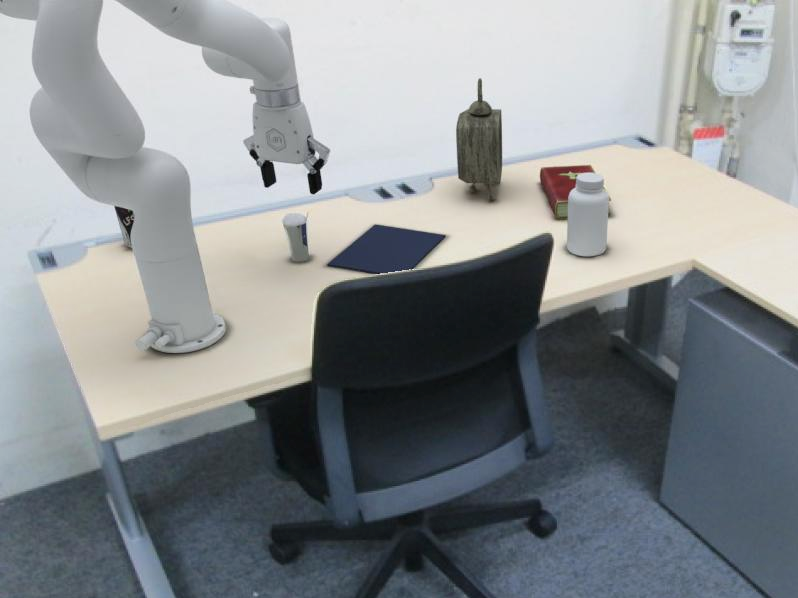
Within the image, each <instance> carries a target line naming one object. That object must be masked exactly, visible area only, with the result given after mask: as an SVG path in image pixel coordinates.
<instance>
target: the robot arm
mask: <svg viewBox="0 0 798 598" xmlns="http://www.w3.org/2000/svg"><path fill="white" fill-rule="evenodd" d="M114 1H116V2H117V3H119V4H120V5H122V6H123V7H125V8H126V9H127V10H129V11H131V12H132V13H134V14H135V15H136V16H138V17H140V18H141V19H142V20H144V21H145V22H147V23H148V24H150V26H152V27H154V28H155V29H157V30H158V31H160V32H161V33H162V34H164V35H166V36H169V37H170V38H173V39H176V40H179V41H181V42H185V43H186V44H191V45H194V46H198V47H201V55H202V60H203V61H204V63H205V65H206V66H207V68H208V69H210V70H211V71H212V72H214V73H215V74H218V75H220V76H223V77H230V78H234V79H235V78H237V79H246V80H251V81H252V84H253V85H250V87H249V93H250V94H252V95H254V96H255V102H253V104H252V133H253V134H252V135H250V136H248V137H247V138H245V139H244V140H243V145H244V146H245V147H246V149H247V151H249V153H248V154H249V156H250V157H251V158H252V159H253V160H254V161H255V163H256V166H257V167H259V169H260V173H261V178H262V182H263V186H264V188H267V189H269V188H270V187H272V186H273V185H275V184H276V183H277V176H276V170H275V165H274V162H277V163H283V164H291V165H301V164H303V166H304V167H305V168H306V169H307V170H308V173H306V177H307V183H308V189H309V194H310V195H316V194H317V193H319V192H320V191H321V190H322V188H323V180H322V174H321V170H322V169H323V168H324V167H325V165H326V164H327V162H328V159H329V156H330V153H331V149H330V148H329V147H327V146H326V145H325V144H323V143H321V142H320V141H318V140H317V139H315V138H314V132H313V129H312V124H311V120H310V117H309V113H308V110H307V107H306V105H305V102H304V101H302V100H301V93H300V87H299V80H298V75H297V67H296V59H295V54H294V53H295V52H294V47H293V40H292V34H291V29H290V26H289V25H288V24H287V22H286V21H284V20H283V19H280V18H267V17H266V18H265V17H264V18H260V17H259V16H257V15H255V14H254V13H252V12H250V11H248V10H246V9H245V8H243V7H241V6H239V5H237V4H235V3H233V2H230V1H228V0H114ZM103 7H104V0H0V14H1V15H4V16H6V17H10V18H13V19H18V20H19V19H20V20H28V21H35V22H36V23H35V28H34V34H33V42H32V49H31V65H32V68H33V72H34V75H35V77H36V79H37V81H38V82H39V85H40V86H41V88H39V89H38V90H36V92H35V93H34V95H33V97H32V99H31V101H30V104H29V105H30V106H29V118H30V119H29V120H30V124H31V127H32V130H33V132H34V135H35V136H36V138H37V140H38V142H39V143H40V144H41V146H42V147H43V148H44V149H45V151H46V152H47V153H48V154H49V155H50V157H51V159H52V160H54V162H55V163H56V165H58V167H59V168H60V169H61V170H62V171H63V173H64V174H65V175H66V176H67V177H68V178H69V180H70V181H71V182H72V183H73V185H74V186H75V187H76V188H77V189H78V190H79V191H80V192H81V193H82V194H83V195H85V196H86V197H87V198H89V199H91V200H93V201H94V202H98V203H100V204H105V205H109V206H112V207H114V206H117V207H122V208H125V209H129V210H132V211H133V212H134V215H135V219H134V223H133V226H132V230H131V245H132V248H131V249H132V253H133V256H134V258H135V263H136V266H137V271H138V273H139V277H140V281H141V284H142V289H143V292H144V295H145V299H146V302H147V306H148V310H149V313H150V317H151V319H149V321H147V324H148V329H147V330H146V333H145V334H144V335H142V336H141V337H139V338H138V339H137V340H135V346H136V348H137V349H138V350H139V351H146V350H147V349H149V348H150V347H151V348H152V349H154V350H155V351H159V352H161V353H166V354H167V353H168V354H184V353H192V352H195V351H199V350H202V349H205V348H207V347H210V346H212V345H213V344H215V343H217V342H219V340H220V339H222V338H223V337H224V335H225V333H226V330H227V326H226V321H225V319H224V318H223V317H222V316H220V315H218V314H217V313H215V312H214V311H213V308H212V304H211V299H210V293H209V290H208V284H207V281H206V276H205V272H204V269H203V263H202V259H201V255H200V250H199V245H198V242H197V237H196V233H195V227H194V223H193V215H192V204H191V203H192V201H191V199H192V198H191V197H192V196H191V179H190V175H189V172H188V170H187V168H186V166H185V165H184V164H183V163H182V161H180V160H179V159H178V158H176V156H174V155H172V154H170V153H168V152H166V151H162V150H160V149H157V148H156V149H155V148H151V147H145V146H144V143H145V140H146V131H145V126H144V123H143V120H142V119H141V117H140V115H139V113H138V112H137V110H136V108H135V107H134V105H133V104H132V102H131V101H130V99H129V97H127V95H126V94H125V92H124V90H123V89H122V88H121V86H120V85H119V83H118V82H117V80H116V78H115V77H114V76H113V75H112V73H111V71H110V70H109V68H108V66H107V65H106V64H105V62H104V60H103V58H102V56H101V54H100V50H99V44H98V35H99V25H100V20H101V15H102V11H103ZM316 153H318V158H317V156H316Z"/></svg>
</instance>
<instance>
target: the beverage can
mask: <svg viewBox="0 0 798 598" xmlns="http://www.w3.org/2000/svg"><path fill="white" fill-rule="evenodd" d="M113 207H114V210H115V215H116V218H117V222H118V225H119V229H120V233H121V236H122V240H123V243H124V245H125V246H126V247H129V248H130V249H132V245H131V230H132V226H133V223H134V219H135V215H134V212H133V211H132V210H129V209H125V208H122V207H117V206H113Z"/></svg>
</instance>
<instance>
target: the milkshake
mask: <svg viewBox="0 0 798 598" xmlns="http://www.w3.org/2000/svg"><path fill="white" fill-rule="evenodd" d="M309 213H310V212H309V211H307V215H304V214H302V213H299V212H294V213H293V212H291V213H287V214H286V215H285V216H284V217H283V218H282V221H281V222H282V225H283V228H284V229H283V230H284V233H285V236H286V240H287V245H288V249H289V253H290V257H291V260H292V261H293V262H294V263H305V262H306V261H308V260H309V258H310V251H309V237H308V236H309V235H308V216H309Z"/></svg>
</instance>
